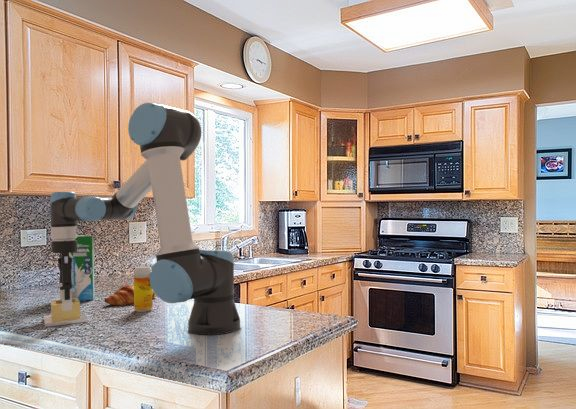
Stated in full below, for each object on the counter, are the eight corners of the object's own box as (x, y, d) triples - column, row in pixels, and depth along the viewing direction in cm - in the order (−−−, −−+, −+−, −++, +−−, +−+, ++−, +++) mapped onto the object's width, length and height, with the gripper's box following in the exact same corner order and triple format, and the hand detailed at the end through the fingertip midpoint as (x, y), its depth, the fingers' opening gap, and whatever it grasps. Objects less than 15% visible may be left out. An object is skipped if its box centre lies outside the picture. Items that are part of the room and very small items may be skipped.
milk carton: (94, 296, 193) (93, 234, 193) (93, 300, 185) (92, 235, 185) (70, 297, 191) (69, 235, 191) (67, 302, 182) (66, 236, 182)
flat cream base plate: (87, 321, 150) (87, 302, 150) (44, 326, 145) (44, 307, 145) (84, 314, 161) (83, 296, 161) (44, 318, 155) (43, 300, 155)
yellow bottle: (147, 312, 162) (146, 268, 162) (130, 311, 164) (130, 268, 164) (155, 308, 168) (155, 266, 168) (139, 308, 170) (139, 265, 170)
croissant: (152, 305, 190) (147, 287, 193) (165, 296, 185) (160, 277, 187) (101, 314, 175) (96, 293, 177) (113, 304, 169) (108, 283, 171)
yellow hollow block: (80, 318, 151) (80, 302, 151) (52, 321, 148) (51, 305, 148) (78, 313, 158) (77, 298, 158) (51, 316, 155) (50, 300, 155)
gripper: (80, 241, 144) (82, 312, 144) (74, 237, 166) (75, 299, 166) (52, 242, 140) (54, 315, 140) (50, 238, 162) (51, 301, 162)
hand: (66, 306), depth 153 cm, fingers open, 13 cm apart
